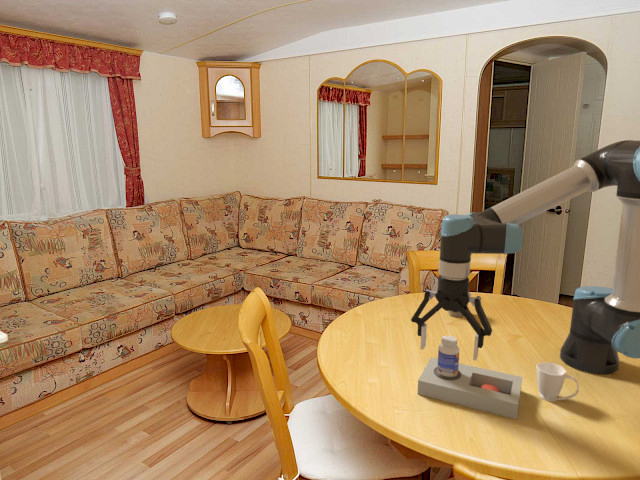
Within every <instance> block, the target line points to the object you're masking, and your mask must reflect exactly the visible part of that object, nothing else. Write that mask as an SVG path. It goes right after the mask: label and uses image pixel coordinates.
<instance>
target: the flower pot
mask: <svg viewBox="0 0 640 480" xmlns="http://www.w3.org/2000/svg"><path fill="white" fill-rule="evenodd" d="M468 295H469V297H472V293H471V292H470V291H469V290H468ZM468 306H469V303H468V304H467V307H468ZM448 315H449V316H451V317H453V318H464V316H463V315H462V314H461V313H460V311H459V312H453V311H448Z"/></svg>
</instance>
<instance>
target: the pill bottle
mask: <svg viewBox="0 0 640 480" xmlns="http://www.w3.org/2000/svg"><path fill="white" fill-rule="evenodd" d="M440 342H441V344H439V345H438V350H437V351H438V352H437V359H438V367H437V371H438V373H439V374H441V375H443V376H446V377H454V376H456V375H457V374H458V366H459V363H460V347H459V346H458V339H457V338H456V337H455V336H453V335H444V336H442V337H441V341H440Z"/></svg>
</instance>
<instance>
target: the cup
mask: <svg viewBox="0 0 640 480" xmlns="http://www.w3.org/2000/svg"><path fill="white" fill-rule="evenodd" d="M535 367H536V382H537V389H538V396H539V397H540V399H542V400H544V401H547V402H556V401H565V400H569V399H572V398H574V397H575V396H577V395H578V393H579V382H578V380H577V379H576V377H575V376H573V375H569V374H568V372H567V370H566V369H565V367H563V366H562V365H560V364H557V363H553V362H543V361H542V362H540V363H538V364H536V365H535ZM565 379H571V380H573V381H574V382H575V384H576V391H575V393H572V394H570V395H567V396H563V397H558V396H559V395H560V393H561V390H562V389H563V385H564V383H565Z"/></svg>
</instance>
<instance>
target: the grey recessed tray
mask: <svg viewBox="0 0 640 480" xmlns="http://www.w3.org/2000/svg"><path fill="white" fill-rule="evenodd" d="M437 367H438V357H437V358H436V357H431V356H430V359H429V361H428V362H427V364H426V366H425V368H424V369H423V371H422V373H421V375H420V376H419V378H418V381H417V395H418V396H419V395H420V396H424V397H428V398H431V399H436V400H439V401H443V402H447V403H451V404H454V405H458V406H463V407H467V408H471V409H475V410H478V411H482V412H487V413H490V414H494V415H498V416H502V417H505V418H510V419H514V420H517V419H518V413H519V407H520V406H519V405H520V398H521V392H522V391H521V390H522V381H523V380H522V379H523V376H520V375H516V374H510V373H506V372H501V371H496V370H492V369H487V368H482V367H478V366H473V365H469V364H465V363H460V362H459V366H458V374H457V375H456V376H454V377H446V376H443V375H441V374H439V373H438V371H437ZM485 384H489V385H493V386H496V387H497V388H498V389H499V392H496V391H492V390H487V389H483V388H481V386H482V385H485Z"/></svg>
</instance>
